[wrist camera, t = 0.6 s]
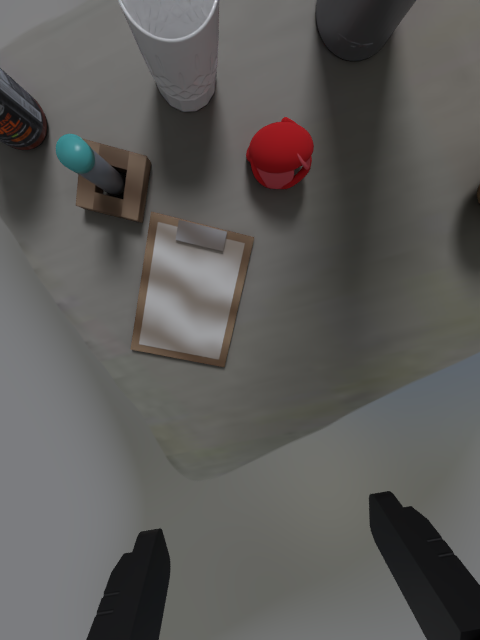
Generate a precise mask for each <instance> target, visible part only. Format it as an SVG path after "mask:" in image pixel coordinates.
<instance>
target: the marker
mask: <svg viewBox="0 0 480 640" xmlns="http://www.w3.org/2000/svg"><path fill="white" fill-rule="evenodd" d="M56 154H57V157H58V159H59V160H60V162H61V163H62V164H63V165H64V166H66V167H67V168H69V169H70V170H72V171H74V172H76V173H78V174H79V175H81V176H82V177H84V178H85V179H87V180H89V181H90V182H92V183H93V184H95V185H96V186H98V187H100V188H101V189H103V190H104V191H106V192H107V193H109V194H111V195H120V194H122V193H123V192H124V190H125V180H124V178H123V176H122V175H121V174H120V173H119V172H117V171H116V170H115V169H114V168H113V167H112V166H111V165H110V164H109V163H107V162H106V161H105V160H104V159H103V158H102V157H101V156H100V155H98V154H97V153H96V152H95V151H94V150H93V149H92V148H91V147H90V146H89V145H88V144H87V143H86V142H85V141H84V140H83V139H81V138H80V137H79V136H77V135H74V134H66V135H63V136H62V137H61V138H60V139H59V140H58V142H57V144H56Z"/></svg>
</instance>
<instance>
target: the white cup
mask: <svg viewBox="0 0 480 640" xmlns="http://www.w3.org/2000/svg"><path fill="white" fill-rule="evenodd" d="M118 2H119V4H120V6H121V9H122V11H123V13H124V15H125V18H126V20H127V22H128V24H129V27H130V29H131V31H132V33H133V36H134V38H135V40H136V43H137V45H138V47H139V49H140V52H141V54H142V56H143V58H144V60H145V62H146V64H147V66H148V69H149V71H150V73H151V74H152V76H153V78H154V80H155V82H156V84H157V86H158V89H159V91H160V93H161V95H162V96H163V97H164V98H165V100H166V101H167V102H168V103H169V104H170V106H172V107H174V108H176V109H179V110H181V111H183V112H189V111H197V110H199V109H200V108H202V107H204V106H205V105H207V104H208V102H209V101H210V99H211V97H212V95H213V94H214V92H215V84H216V75H217V63H218V40H219V0H118Z"/></svg>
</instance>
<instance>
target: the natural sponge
mask: <svg viewBox="0 0 480 640" xmlns="http://www.w3.org/2000/svg"><path fill="white" fill-rule="evenodd" d="M477 198H478V202H479V204H480V184H479V187H478V190H477Z"/></svg>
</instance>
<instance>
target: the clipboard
mask: <svg viewBox="0 0 480 640" xmlns="http://www.w3.org/2000/svg"><path fill="white" fill-rule="evenodd" d="M253 241H254V237H251V236H247V235H243V234H239V233H235V232H231V231H227V230H223V229H219V228H215V227H211V226H207V225H203V224H199V223H195V222H191V221H187V220H183V219H179V218H175V217H171V216H167V215H163V214H159V213H155V212H151V216H150V223H149V230H148V236H147V243H146V250H145V256H144V263H143V270H142V277H141V283H140V290H139V297H138V303H137V310H136V317H135V324H134V330H133V337H132V344H131V350H136V351H142V352H147V353H152V354H157V355H163V356H168V357H173V358H178V359H184V360H189V361H194V362H199V363H205V364H210V365H215V366H220V367H225V362H226V358H227V354H228V349H229V345H230V341H231V336H232V332H233V328H234V323H235V319H236V315H237V310H238V306H239V302H240V297H241V293H242V289H243V284H244V280H245V276H246V271H247V267H248V262H249V258H250V254H251V249H252V245H253Z"/></svg>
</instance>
